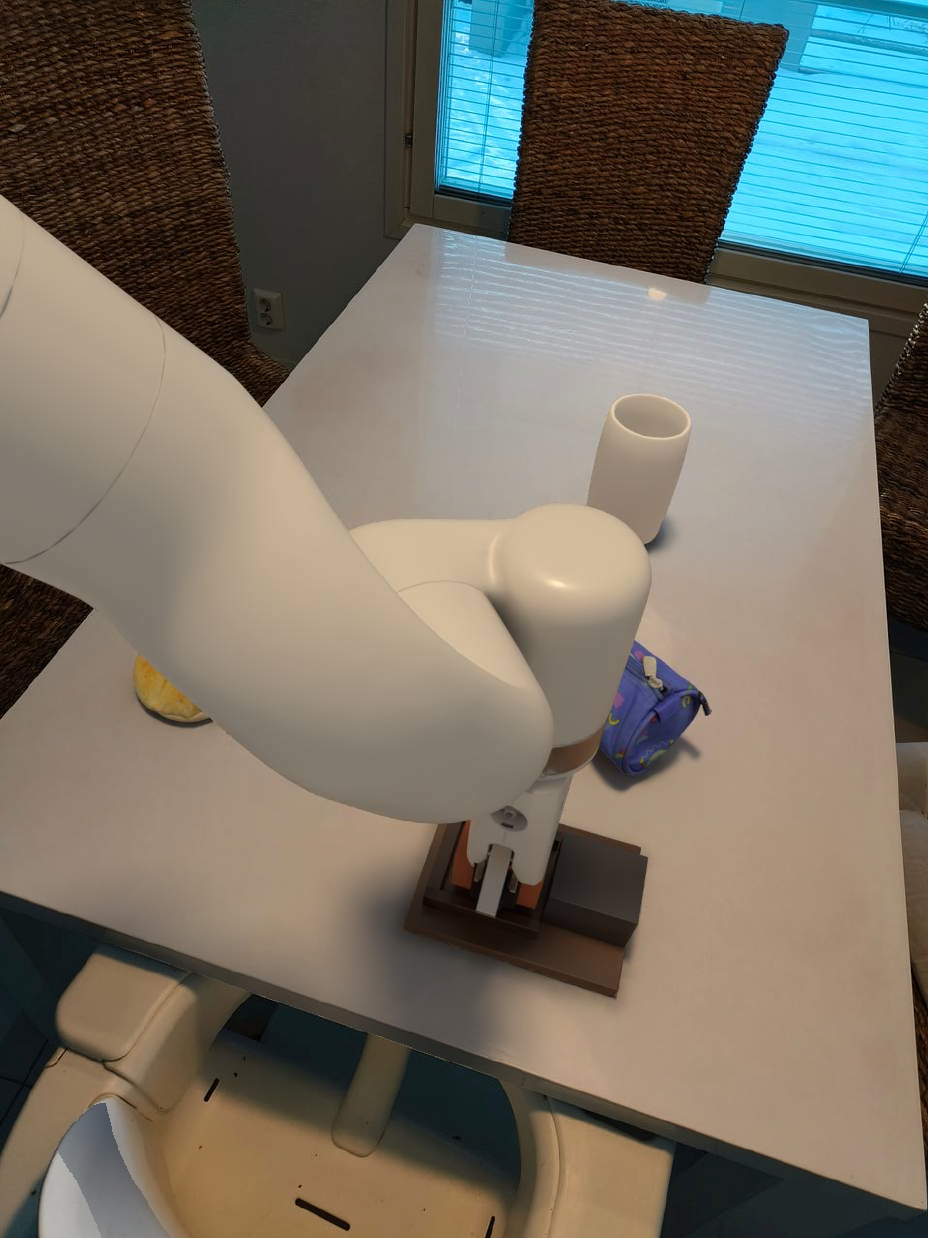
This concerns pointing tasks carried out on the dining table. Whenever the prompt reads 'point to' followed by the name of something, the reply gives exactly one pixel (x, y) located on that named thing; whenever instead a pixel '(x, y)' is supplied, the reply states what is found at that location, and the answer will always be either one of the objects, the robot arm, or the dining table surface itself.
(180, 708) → the bread roll
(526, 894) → the orange block
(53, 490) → the robot arm
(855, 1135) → the dining table surface
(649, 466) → the cup
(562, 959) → the brown wooden tray
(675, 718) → the pencil case
